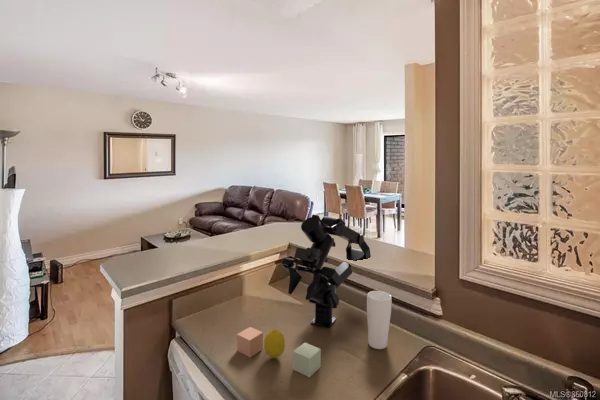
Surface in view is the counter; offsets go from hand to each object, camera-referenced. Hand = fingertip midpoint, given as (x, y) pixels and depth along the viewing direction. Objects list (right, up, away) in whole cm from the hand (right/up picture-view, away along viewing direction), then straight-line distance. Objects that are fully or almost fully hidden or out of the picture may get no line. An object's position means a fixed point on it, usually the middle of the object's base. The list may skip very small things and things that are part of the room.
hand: (297, 296), depth 92 cm
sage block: (+2, -15, -10) cm, 19 cm away
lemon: (-6, -15, -6) cm, 17 cm away
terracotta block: (-13, -14, -3) cm, 20 cm away
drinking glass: (+23, -14, 0) cm, 27 cm away
